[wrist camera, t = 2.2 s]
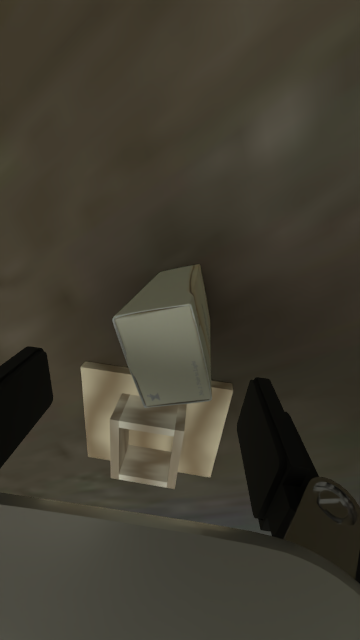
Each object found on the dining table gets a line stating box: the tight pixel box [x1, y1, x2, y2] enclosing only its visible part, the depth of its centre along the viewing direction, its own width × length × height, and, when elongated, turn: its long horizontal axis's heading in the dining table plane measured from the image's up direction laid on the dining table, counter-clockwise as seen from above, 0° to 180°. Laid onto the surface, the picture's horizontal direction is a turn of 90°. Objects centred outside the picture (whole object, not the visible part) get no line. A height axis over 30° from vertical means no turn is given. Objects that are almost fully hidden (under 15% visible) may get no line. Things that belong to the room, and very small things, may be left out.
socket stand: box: [81, 361, 233, 489], centre depth 28 cm, size 18×16×5 cm
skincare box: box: [112, 264, 212, 408], centre depth 18 cm, size 6×4×12 cm
